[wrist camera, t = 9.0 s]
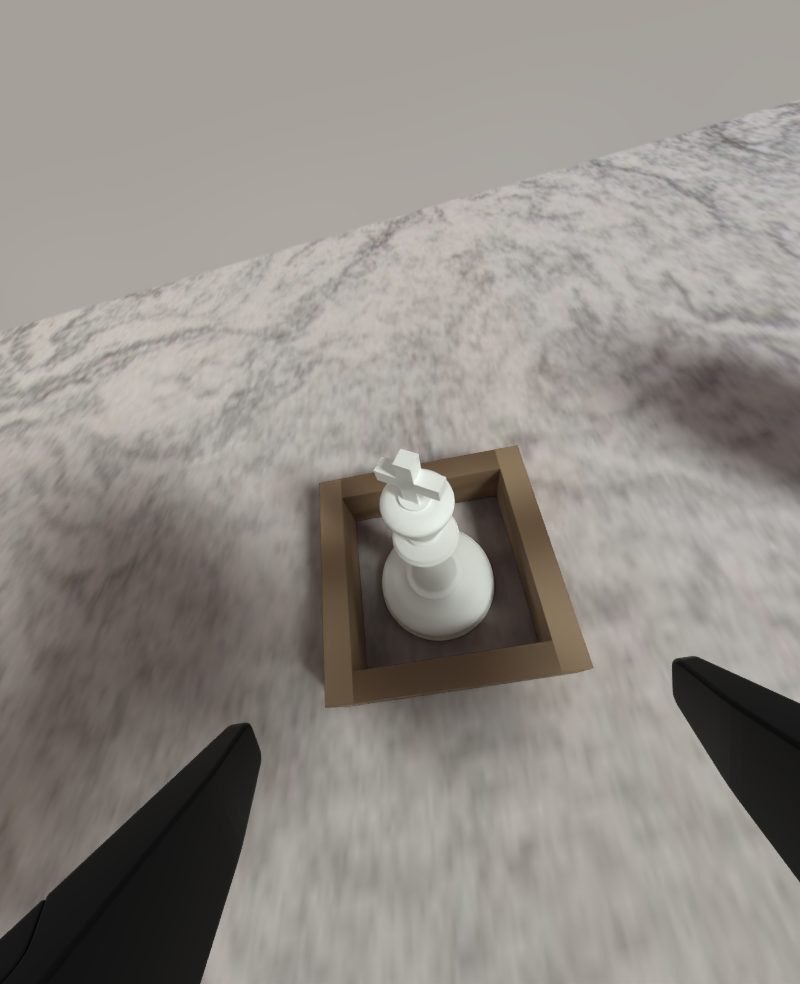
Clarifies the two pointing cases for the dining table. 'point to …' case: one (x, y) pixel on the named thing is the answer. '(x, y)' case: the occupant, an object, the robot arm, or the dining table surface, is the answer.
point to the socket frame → (547, 658)
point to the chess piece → (430, 554)
